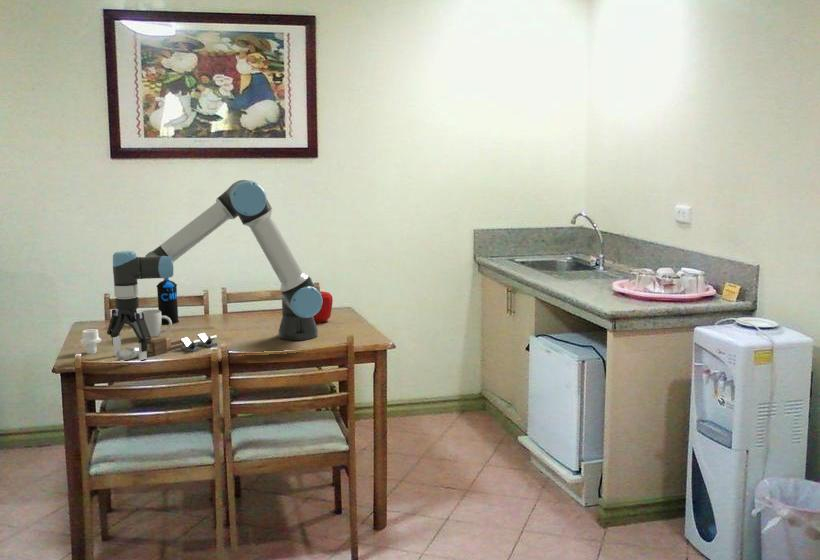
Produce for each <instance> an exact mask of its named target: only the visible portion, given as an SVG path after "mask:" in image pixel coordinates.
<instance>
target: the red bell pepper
mask: <svg viewBox="0 0 820 560" xmlns="http://www.w3.org/2000/svg"><path fill="white" fill-rule="evenodd" d="M318 291H319V292H320V293H321V296H322V300H323V303H322V307H321V309H320V311H319V312H318V313H317V314H316V315H314V316H313V318H314V321H315V323H318V324H319V323H325V322H327V321H328V320H329V319H330V318H331V315H332V309H333V301H334V300H333V295H332V294H331V293H330V292H328V291H321V290H320V289H318Z"/></svg>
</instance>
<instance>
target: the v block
mask: <svg viewBox="0 0 820 560" xmlns="http://www.w3.org/2000/svg"><path fill="white" fill-rule="evenodd" d="M196 337H197V338H198V339H195V340H192V341H191V340H190V339H189V338H188V337H187V336H186V337H184V338H180V339H179V340H180V341H181V342H182V343H181V344H183V345H184V346H182V347H180V348H179V349H180V351H185V352H189V353H190V352H191V353H196V352H195V351H197V352H200V351H202V347H205V346H207V347H206V348H215V347H218V342H214V341H215V339H217V338H218V336H217V335H216V334H215V335H211V336H207V334H206V333H205V332H203V333H199V334H197V335H196ZM200 345H202V346H201V347H200ZM214 346H215V347H214ZM199 350H200V351H199Z"/></svg>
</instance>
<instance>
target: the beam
mask: <svg viewBox="0 0 820 560" xmlns="http://www.w3.org/2000/svg"><path fill="white" fill-rule="evenodd" d="M150 336H151V340H149V341H147V342H153V352H150V353H147V357H152V356H158V355H163V354H167V353H168V352H170V351H171V352H172V351H174V350H178V349H180V347H182V346H184V345H183V344H182V342H181V341H180V340H181V339H178V340H174V341H171V347H169V348H167V343H166V338H167V337H164V336H154V335H150ZM142 339H143V338H142ZM138 342H139V339H138V338H137V343H138Z"/></svg>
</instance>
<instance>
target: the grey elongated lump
mask: <svg viewBox="0 0 820 560" xmlns="http://www.w3.org/2000/svg"><path fill="white" fill-rule="evenodd" d="M147 353H149V349H148V347H147ZM116 357H117V360H118V361H119V360H127V361H129V360H130V361H131V360H134V359H139V351H138V345H136V346H132V347H128V348H124V349H121V350H119V351H118V352H117V356H116Z"/></svg>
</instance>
